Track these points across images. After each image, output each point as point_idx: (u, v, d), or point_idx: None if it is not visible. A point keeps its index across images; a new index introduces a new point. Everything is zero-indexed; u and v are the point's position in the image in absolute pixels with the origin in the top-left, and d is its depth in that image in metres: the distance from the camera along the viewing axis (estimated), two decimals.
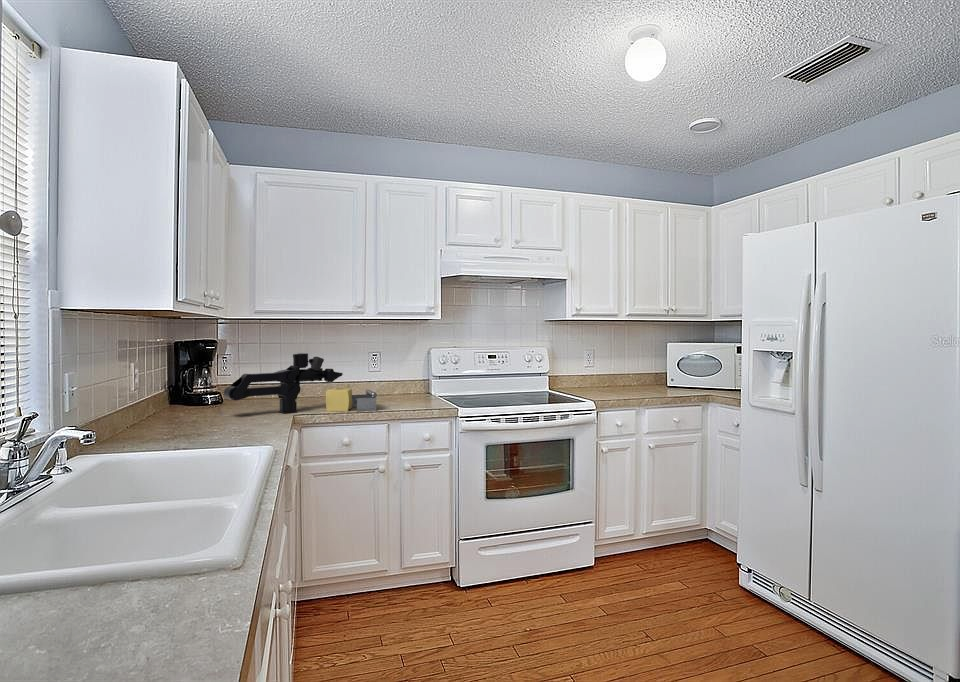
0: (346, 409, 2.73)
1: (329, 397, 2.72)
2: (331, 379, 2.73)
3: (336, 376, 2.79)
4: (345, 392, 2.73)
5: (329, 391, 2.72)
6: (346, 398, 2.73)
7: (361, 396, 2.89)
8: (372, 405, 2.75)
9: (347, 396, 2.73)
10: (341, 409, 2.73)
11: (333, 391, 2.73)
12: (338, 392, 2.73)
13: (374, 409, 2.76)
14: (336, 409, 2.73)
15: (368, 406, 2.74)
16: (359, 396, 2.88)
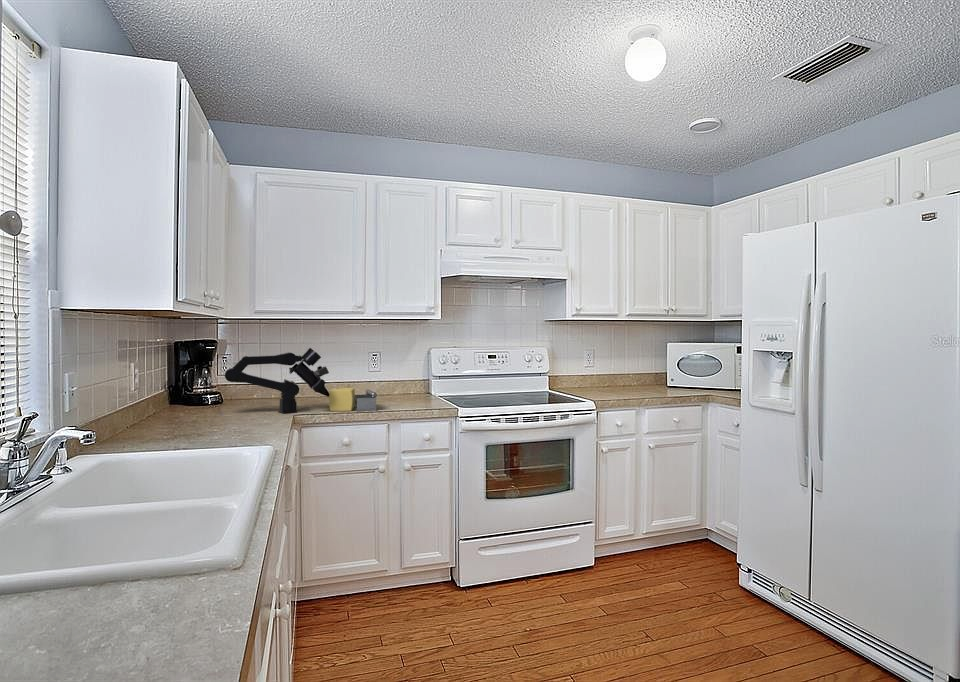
0: (350, 409, 2.74)
1: (333, 396, 2.73)
2: (316, 388, 2.64)
3: (323, 392, 2.73)
4: (349, 392, 2.73)
5: (332, 391, 2.73)
6: (349, 397, 2.73)
7: (361, 396, 2.89)
8: (372, 405, 2.75)
9: (351, 396, 2.73)
10: (344, 409, 2.73)
11: (336, 391, 2.73)
12: (341, 392, 2.73)
13: (374, 409, 2.76)
14: (339, 409, 2.73)
15: (368, 406, 2.74)
16: (359, 396, 2.88)
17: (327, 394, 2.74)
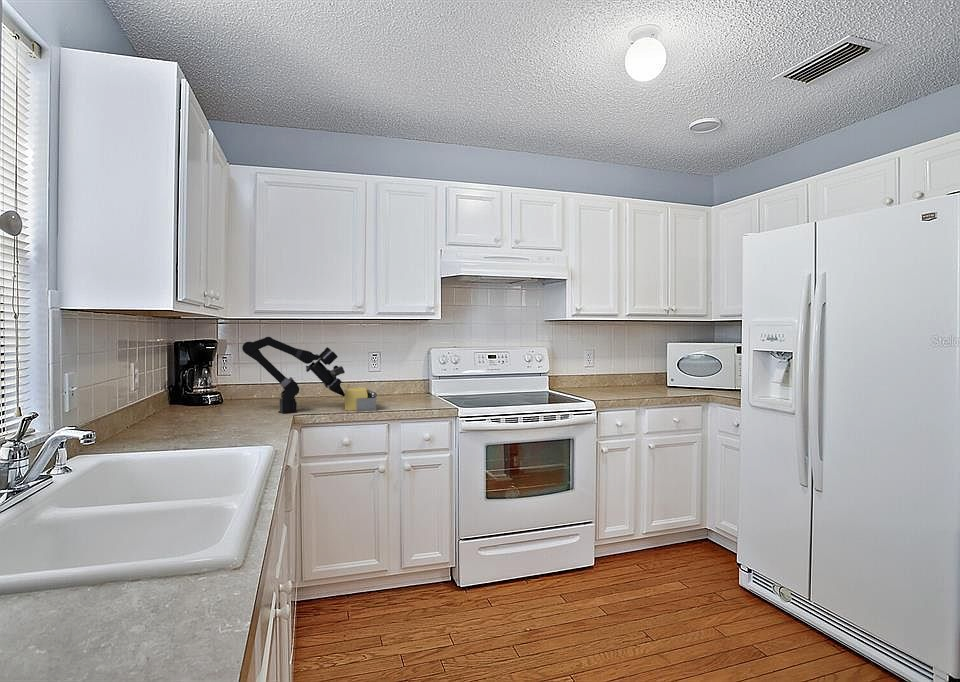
0: None
1: (348, 396, 2.75)
2: (332, 387, 2.67)
3: (338, 391, 2.76)
4: (364, 391, 2.76)
5: (348, 390, 2.75)
6: (365, 397, 2.76)
7: None
8: (372, 405, 2.75)
9: (366, 395, 2.76)
10: None
11: (352, 390, 2.75)
12: (357, 391, 2.76)
13: (374, 409, 2.76)
14: (355, 408, 2.76)
15: (368, 406, 2.74)
16: None
17: (342, 394, 2.77)
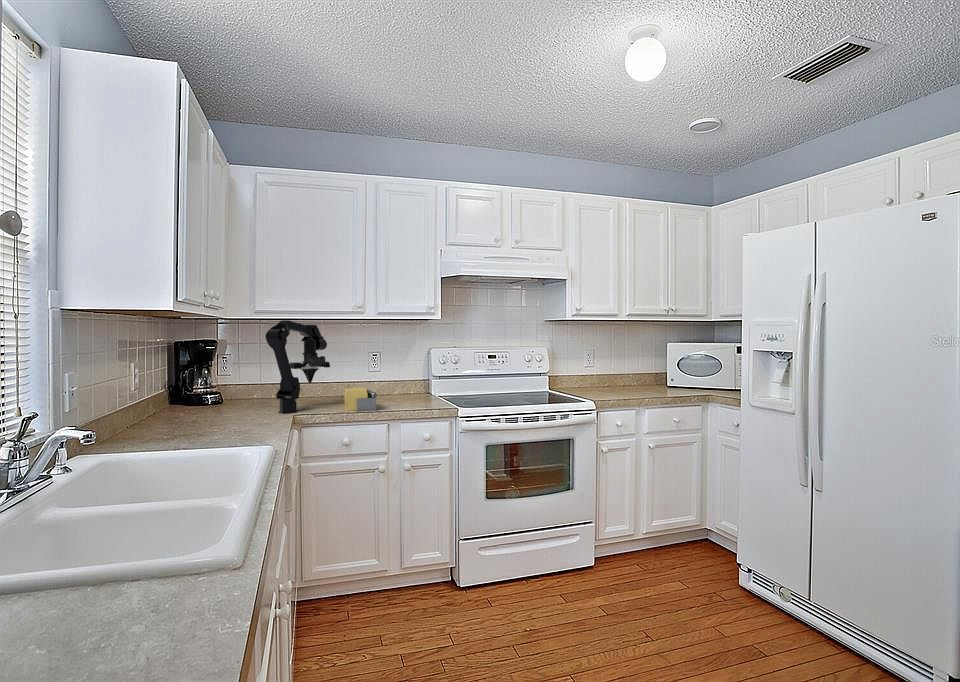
0: None
1: (348, 396, 2.75)
2: (289, 366, 2.79)
3: (306, 375, 2.84)
4: (364, 391, 2.76)
5: (348, 391, 2.75)
6: (365, 397, 2.76)
7: None
8: (372, 405, 2.75)
9: (366, 395, 2.76)
10: None
11: (352, 390, 2.75)
12: (357, 391, 2.76)
13: (374, 409, 2.76)
14: (355, 408, 2.76)
15: (368, 406, 2.74)
16: None
17: (308, 379, 2.84)
